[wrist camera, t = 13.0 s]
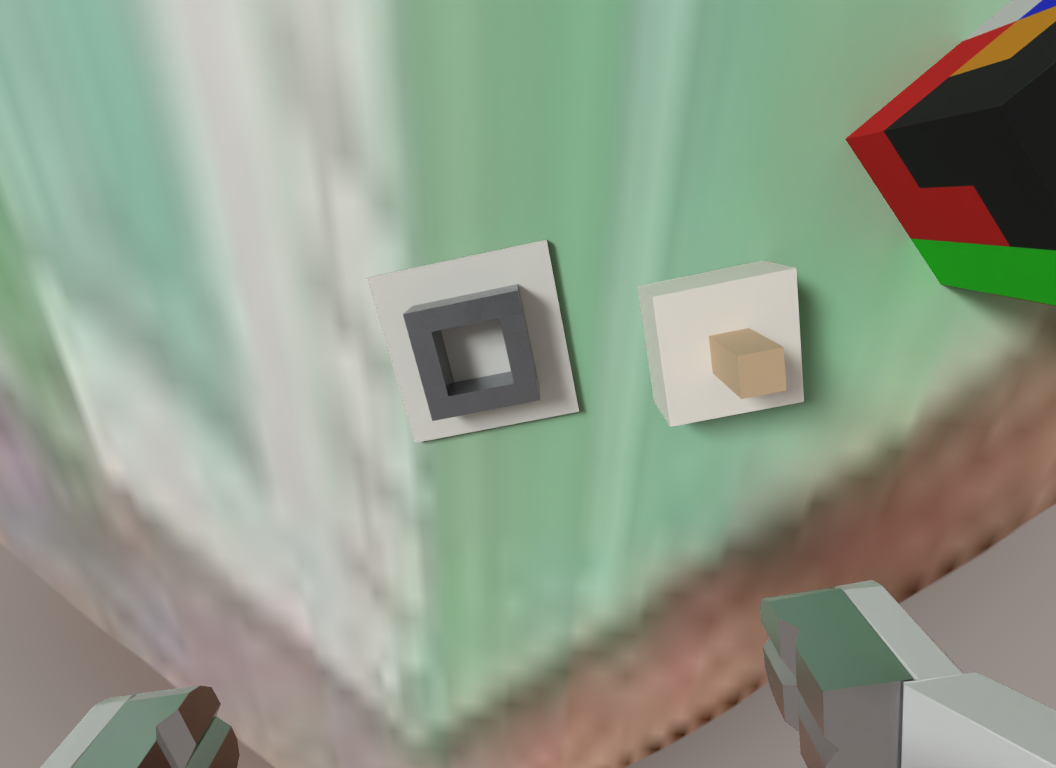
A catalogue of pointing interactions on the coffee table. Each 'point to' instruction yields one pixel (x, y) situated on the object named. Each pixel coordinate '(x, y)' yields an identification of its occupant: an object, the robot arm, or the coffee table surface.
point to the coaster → (479, 335)
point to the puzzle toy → (978, 157)
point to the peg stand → (723, 341)
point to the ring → (476, 392)
